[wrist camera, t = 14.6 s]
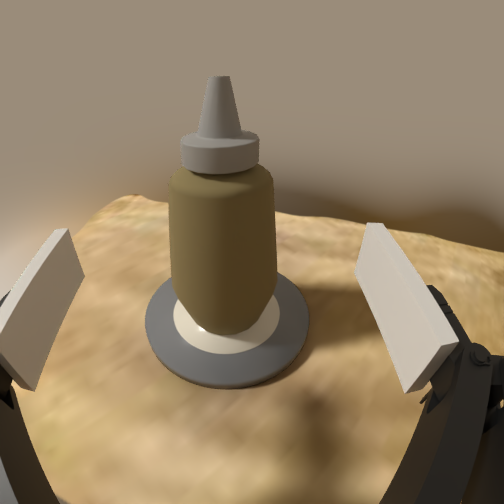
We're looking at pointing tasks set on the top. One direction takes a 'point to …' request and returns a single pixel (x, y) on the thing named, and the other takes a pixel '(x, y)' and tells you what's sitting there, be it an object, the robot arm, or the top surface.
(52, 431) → the top surface
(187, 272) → the squeeze bottle
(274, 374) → the coaster
